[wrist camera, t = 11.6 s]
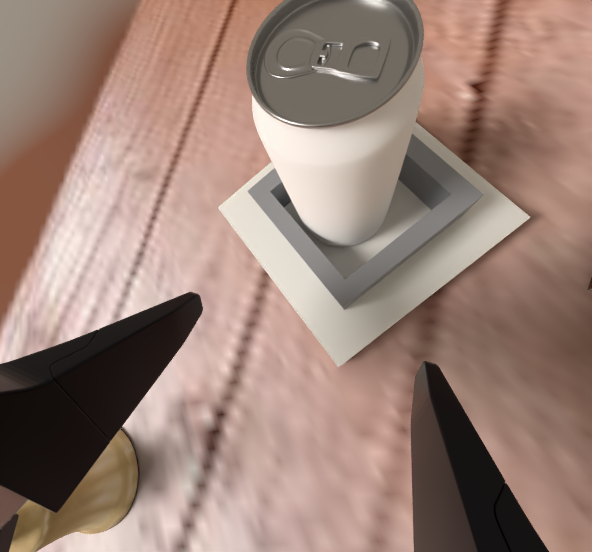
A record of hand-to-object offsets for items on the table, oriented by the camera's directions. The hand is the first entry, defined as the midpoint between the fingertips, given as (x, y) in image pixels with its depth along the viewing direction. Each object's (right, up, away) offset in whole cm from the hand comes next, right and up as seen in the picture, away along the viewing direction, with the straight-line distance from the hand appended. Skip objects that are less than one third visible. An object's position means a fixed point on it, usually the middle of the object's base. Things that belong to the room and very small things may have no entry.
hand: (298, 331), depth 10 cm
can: (+4, +7, +10) cm, 13 cm away
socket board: (+5, +7, +11) cm, 14 cm away
